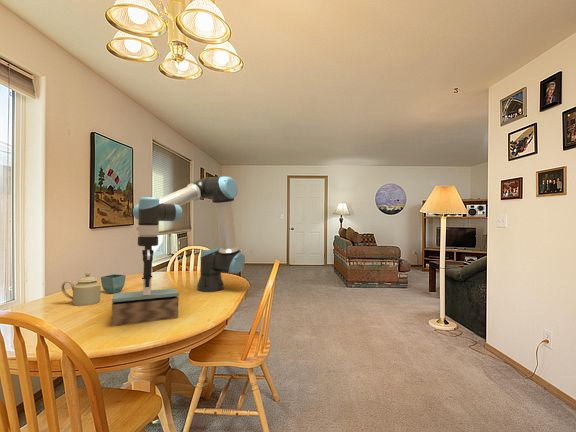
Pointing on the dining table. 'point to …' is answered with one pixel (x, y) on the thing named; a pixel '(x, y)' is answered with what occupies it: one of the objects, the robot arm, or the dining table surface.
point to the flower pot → (113, 283)
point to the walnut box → (144, 310)
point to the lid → (139, 295)
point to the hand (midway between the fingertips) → (146, 294)
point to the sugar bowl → (84, 291)
